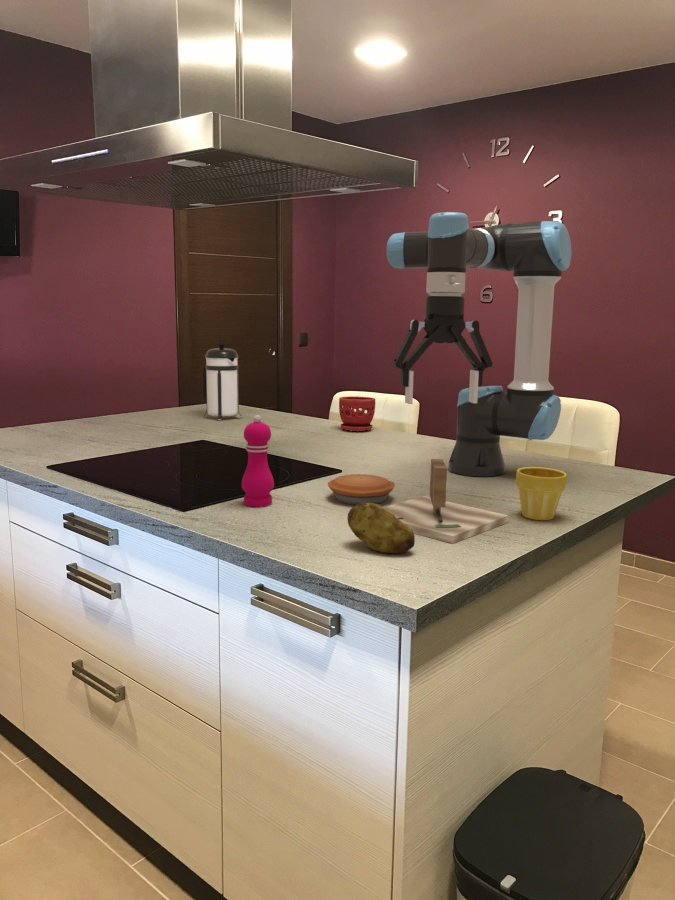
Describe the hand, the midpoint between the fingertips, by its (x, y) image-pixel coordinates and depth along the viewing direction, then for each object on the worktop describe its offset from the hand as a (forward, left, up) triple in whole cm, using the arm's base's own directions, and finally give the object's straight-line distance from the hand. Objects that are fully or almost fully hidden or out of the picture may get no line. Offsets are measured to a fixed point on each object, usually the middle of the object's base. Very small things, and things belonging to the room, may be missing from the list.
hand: (441, 403), depth 146 cm
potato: (+22, +3, -25) cm, 33 cm away
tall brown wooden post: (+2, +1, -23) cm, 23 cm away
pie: (-2, -23, -25) cm, 34 cm away
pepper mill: (+18, -36, -25) cm, 47 cm away
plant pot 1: (-73, -89, -25) cm, 118 cm away
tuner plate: (0, 0, -25) cm, 25 cm away
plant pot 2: (-19, +13, -25) cm, 34 cm away
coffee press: (-54, -145, -25) cm, 157 cm away
